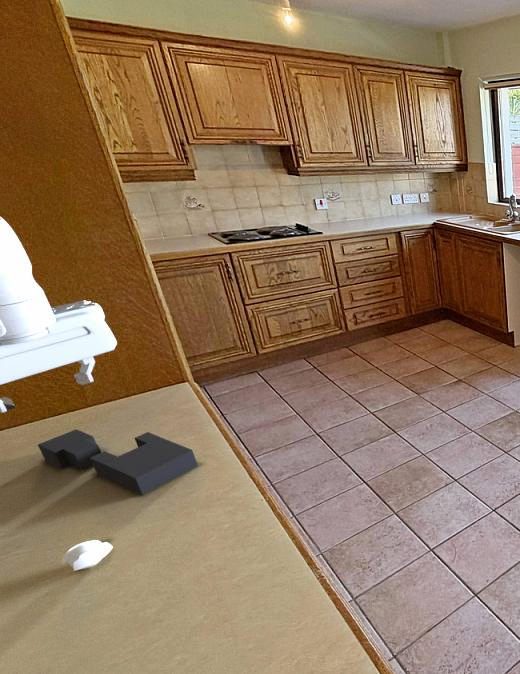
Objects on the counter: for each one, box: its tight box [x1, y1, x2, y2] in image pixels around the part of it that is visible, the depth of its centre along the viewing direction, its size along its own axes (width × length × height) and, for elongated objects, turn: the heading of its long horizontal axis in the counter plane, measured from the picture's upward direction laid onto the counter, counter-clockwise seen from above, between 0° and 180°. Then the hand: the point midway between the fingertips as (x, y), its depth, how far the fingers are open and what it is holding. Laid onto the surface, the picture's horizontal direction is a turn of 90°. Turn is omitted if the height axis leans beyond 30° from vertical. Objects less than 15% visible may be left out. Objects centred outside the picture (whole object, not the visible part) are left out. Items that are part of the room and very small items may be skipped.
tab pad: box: [37, 428, 102, 472], centre depth 80 cm, size 8×5×4 cm, turn 69°
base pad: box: [90, 431, 199, 496], centre depth 79 cm, size 12×8×4 cm, turn 69°
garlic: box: [60, 539, 113, 572], centre depth 62 cm, size 5×3×5 cm
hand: (48, 395), depth 77 cm, fingers open, 8 cm apart
